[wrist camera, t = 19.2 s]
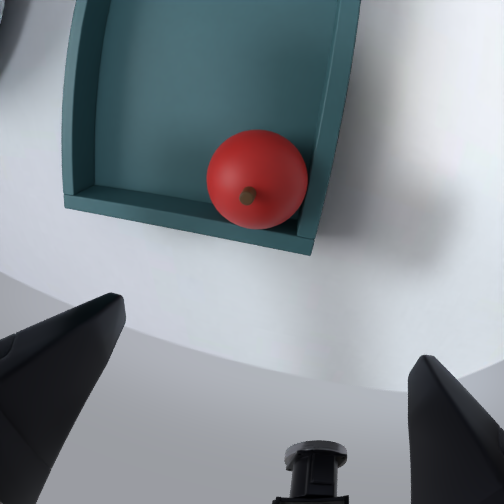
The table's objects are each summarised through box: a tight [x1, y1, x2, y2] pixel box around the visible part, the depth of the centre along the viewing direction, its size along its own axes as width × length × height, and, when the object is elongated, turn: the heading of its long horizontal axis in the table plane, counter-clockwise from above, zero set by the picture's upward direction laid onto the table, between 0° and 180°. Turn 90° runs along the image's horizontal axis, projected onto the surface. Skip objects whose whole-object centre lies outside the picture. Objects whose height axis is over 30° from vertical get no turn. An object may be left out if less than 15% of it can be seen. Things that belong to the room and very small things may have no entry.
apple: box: [207, 130, 308, 229], centre depth 15 cm, size 5×5×6 cm
